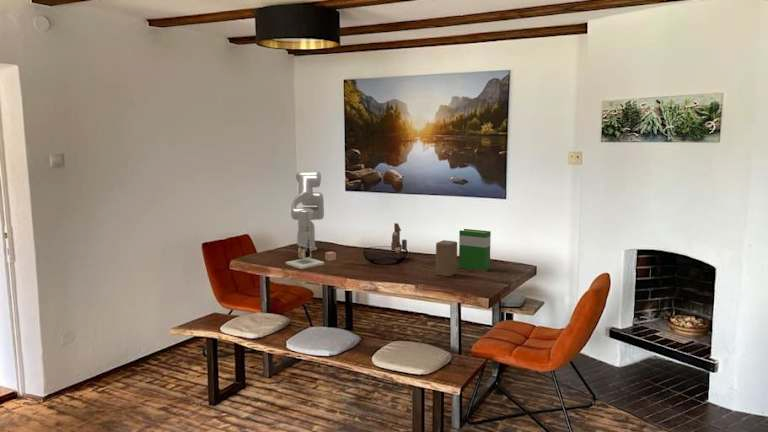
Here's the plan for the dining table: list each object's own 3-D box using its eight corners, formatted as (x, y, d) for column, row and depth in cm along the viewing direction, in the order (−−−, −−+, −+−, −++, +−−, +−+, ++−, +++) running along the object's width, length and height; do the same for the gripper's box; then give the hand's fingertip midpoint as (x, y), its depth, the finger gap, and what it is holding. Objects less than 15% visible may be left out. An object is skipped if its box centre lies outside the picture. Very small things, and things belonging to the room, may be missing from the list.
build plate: (285, 264, 367) (285, 261, 367) (308, 259, 379) (308, 257, 379) (301, 268, 354) (301, 266, 354) (324, 264, 366) (324, 261, 366)
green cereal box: (458, 268, 354) (459, 230, 350) (464, 265, 360) (464, 228, 357) (485, 271, 344) (485, 233, 341) (489, 269, 351) (490, 231, 347)
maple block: (298, 257, 366) (298, 248, 365) (306, 255, 370) (305, 246, 369) (303, 258, 361) (303, 249, 361) (311, 257, 365) (311, 248, 365)
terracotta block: (325, 259, 379) (325, 252, 378) (331, 258, 382) (331, 251, 382) (329, 261, 375) (329, 253, 375) (335, 259, 379) (335, 252, 378)
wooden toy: (399, 262, 369) (399, 225, 365) (389, 262, 371) (389, 224, 368) (407, 257, 383) (407, 221, 379) (398, 257, 386) (398, 221, 382)
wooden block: (450, 277, 331) (450, 244, 328) (435, 275, 336) (435, 242, 333) (457, 273, 339) (457, 241, 336) (442, 271, 345) (442, 239, 342)
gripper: (291, 228, 367) (292, 255, 369) (306, 231, 354) (307, 259, 357) (301, 226, 372) (302, 253, 374) (316, 229, 359) (317, 257, 362)
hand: (304, 256), depth 365 cm, fingers closed on maple block, 6 cm apart
